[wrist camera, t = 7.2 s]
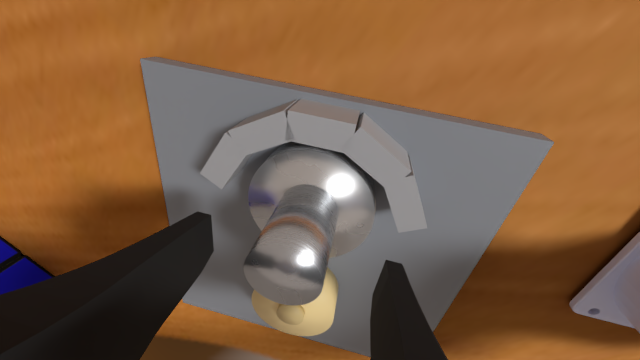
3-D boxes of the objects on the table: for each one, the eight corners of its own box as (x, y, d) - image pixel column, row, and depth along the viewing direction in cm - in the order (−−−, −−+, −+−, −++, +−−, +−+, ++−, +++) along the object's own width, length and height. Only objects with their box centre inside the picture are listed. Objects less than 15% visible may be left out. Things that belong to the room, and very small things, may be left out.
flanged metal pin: (386, 148, 12) (390, 224, 7) (364, 248, 15) (357, 348, 10) (258, 129, 13) (186, 188, 8) (261, 228, 16) (211, 312, 11)
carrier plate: (541, 133, 12) (595, 169, 9) (408, 354, 21) (412, 407, 18) (155, 56, 13) (92, 64, 10) (190, 291, 22) (162, 331, 19)
